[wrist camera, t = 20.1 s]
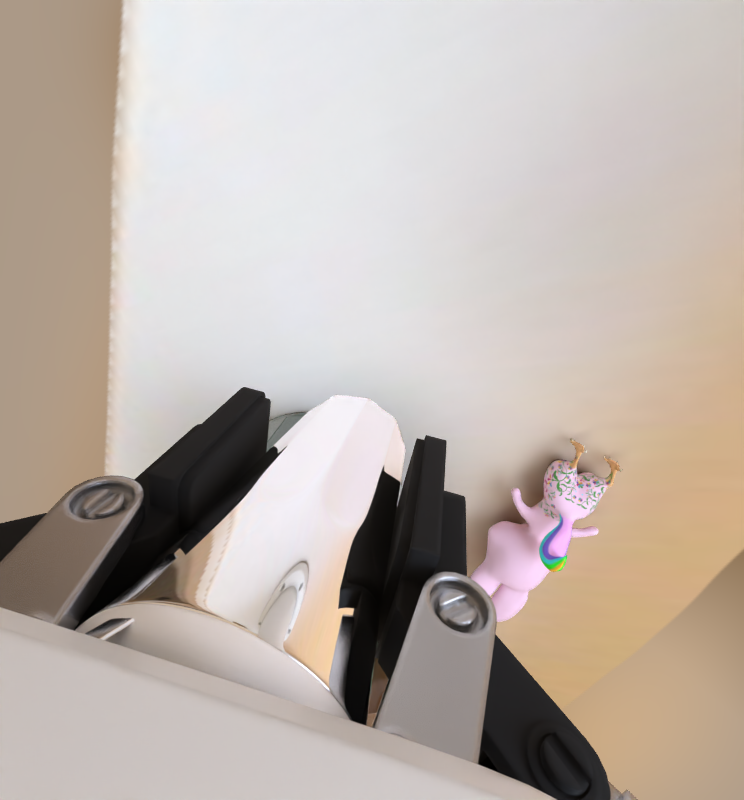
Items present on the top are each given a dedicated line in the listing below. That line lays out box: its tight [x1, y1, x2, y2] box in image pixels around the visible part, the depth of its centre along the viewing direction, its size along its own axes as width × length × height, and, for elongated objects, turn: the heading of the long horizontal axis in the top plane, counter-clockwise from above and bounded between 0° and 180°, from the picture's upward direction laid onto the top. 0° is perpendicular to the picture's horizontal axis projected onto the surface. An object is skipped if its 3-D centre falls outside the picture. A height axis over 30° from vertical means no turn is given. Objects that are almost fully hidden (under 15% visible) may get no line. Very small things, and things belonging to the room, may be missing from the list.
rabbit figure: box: [470, 439, 623, 622], centre depth 27 cm, size 6×6×15 cm
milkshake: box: [75, 395, 406, 726], centre depth 8 cm, size 4×5×10 cm
